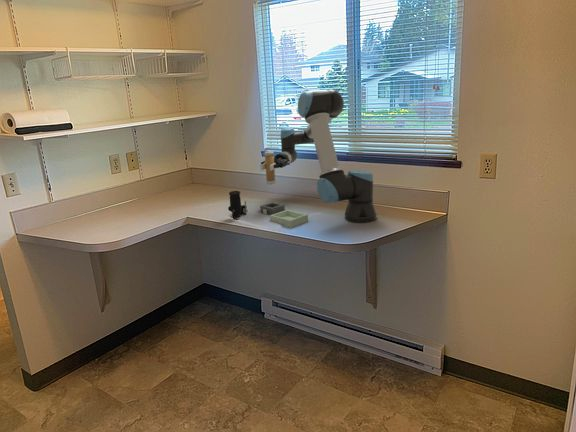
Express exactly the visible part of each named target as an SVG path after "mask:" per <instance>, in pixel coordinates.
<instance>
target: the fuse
mask: <svg viewBox="0 0 576 432" xmlns="http://www.w3.org/2000/svg"><path fill="white" fill-rule="evenodd" d="M274 154H275V152H274V151H273V150H271V151H270V150H269V151H264V161H265V165H266V169H265V176H266V180H265V181H266V185H275V184H276V171H275V169H274V170H272V171H270V165H271V164H273V163H274V157H275V155H274Z"/></svg>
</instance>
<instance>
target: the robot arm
mask: <svg viewBox="0 0 576 432" xmlns="http://www.w3.org/2000/svg"><path fill="white" fill-rule="evenodd" d="M298 97H299V98H298V99H297V100H298V101H297V111H298V115H299V116H300V117H301V118H304V119H305V123H306V124H308V126H307V127H306V128H305V129H303V130H295V128H293V127H284V128H282V129H280V145H281V152H279V153H278V154H276V155H274V163H273V164H271V165H270V171H272V170H274V169H279V168H285V167H286V166H289V165H291V164H292V163H294V162H295V161H296V160H297V158H298V152H297V150H296V146H297V145H305V144H314V148H315V151H316V155H317V159H318V164H319V167H320V174H319V176H318V177H319V179H318V180H317V181H316V191H317V194H318V196H319V198H320V199H321V200H322V201H323V202H325V203H327V204H328V203H330V204H331V203H337V202H341V201H342V202H343V201H347V205H346V208H345V213H344V220H346V221H347V222H351V223H359V222H363V223H370V222H373V220H374V221H376V220H377V212H376V209H375V205H374V177H373V175H374V174H373V173H372V172H370V171H366V170H361V169H359V170H358V169H351V170H348V171H347V174H345V171H344V169H343V168H341V167H340V166H339V161H338V158H337V157H338V156H337V152H336V150H335V149H336V148H335V145H334V139H333V136H332V134H331V133H332V132H331V128H330V125H329V123H330V122H332V120H333V119H337V117H338V116H340V115H341V114H342V112H343V110H344V108H345V107H344V106H345V103H344V98H343V97H342V95H341V94H340V92H339V91H337V90H334V89H317V90H310V89H309V90H305V91H302V92H301V93H300V95H299V96H298ZM264 170H266V165H265V160H263V161H261V162H260V171H264Z"/></svg>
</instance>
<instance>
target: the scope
mask: <svg viewBox="0 0 576 432" xmlns="http://www.w3.org/2000/svg"><path fill="white" fill-rule="evenodd" d="M228 195H229V206H228V211H229V212H230V213H232V220H234V221H238V220H240V218H241V217H242V215H247V213H248V209H247V201H246V200H244V204H242V202H241V201H242V200H241V191H239V190H232V191H229V192H228ZM238 218H239V219H238Z"/></svg>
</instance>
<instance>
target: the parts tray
mask: <svg viewBox="0 0 576 432" xmlns="http://www.w3.org/2000/svg"><path fill="white" fill-rule="evenodd" d="M269 221H270V222H275V223H279V224H280V225H281V226H282V227H286V228H290V229H292V228H294V227H297V226H300V225H302V224H305V223H308V222H309V214H307V213H303V212H300V211H294V210H290V209H286V210H285V211H282V212H279V213H276V214H273V215H269Z"/></svg>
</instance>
